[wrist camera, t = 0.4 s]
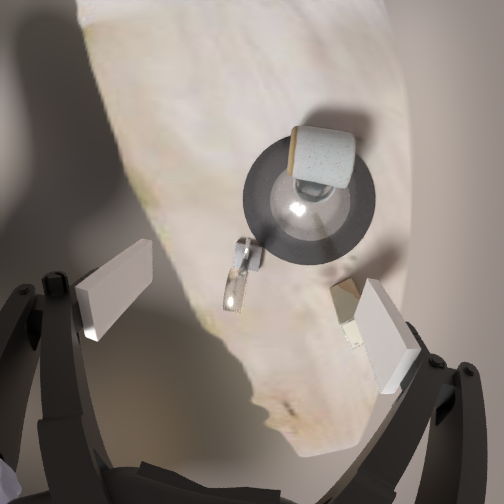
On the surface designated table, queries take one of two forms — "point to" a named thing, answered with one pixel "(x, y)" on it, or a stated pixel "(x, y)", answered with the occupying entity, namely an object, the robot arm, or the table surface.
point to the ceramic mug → (321, 159)
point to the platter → (305, 210)
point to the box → (347, 310)
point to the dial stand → (241, 274)
